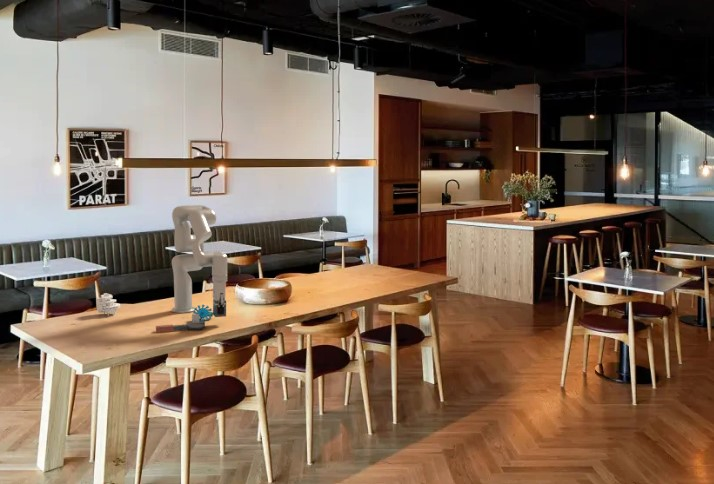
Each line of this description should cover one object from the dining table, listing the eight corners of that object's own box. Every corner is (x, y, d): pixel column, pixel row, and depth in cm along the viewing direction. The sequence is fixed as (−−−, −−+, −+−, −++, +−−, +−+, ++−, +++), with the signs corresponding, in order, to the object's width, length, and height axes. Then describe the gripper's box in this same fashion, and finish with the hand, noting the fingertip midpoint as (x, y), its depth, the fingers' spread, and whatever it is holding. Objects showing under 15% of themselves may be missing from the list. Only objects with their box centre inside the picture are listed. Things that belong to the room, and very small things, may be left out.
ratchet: (155, 329, 319) (154, 315, 319) (203, 325, 328) (203, 312, 328) (157, 334, 311) (156, 319, 310) (206, 329, 320) (206, 316, 319)
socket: (212, 314, 332) (212, 299, 331) (223, 313, 334) (224, 298, 333) (214, 317, 327) (215, 301, 326) (226, 316, 329) (226, 301, 328)
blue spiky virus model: (193, 319, 335) (194, 303, 342) (191, 325, 340) (192, 309, 346) (214, 320, 339) (215, 304, 345) (213, 326, 343) (213, 310, 349)
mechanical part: (121, 315, 348) (120, 294, 347) (97, 317, 343) (96, 296, 341) (119, 311, 358) (118, 290, 357) (96, 313, 353) (95, 292, 352)
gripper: (209, 275, 334) (209, 309, 337) (215, 281, 319) (215, 317, 321) (223, 274, 337) (223, 308, 340) (230, 281, 321) (230, 316, 324)
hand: (219, 312), depth 330 cm, fingers closed on socket, 5 cm apart
